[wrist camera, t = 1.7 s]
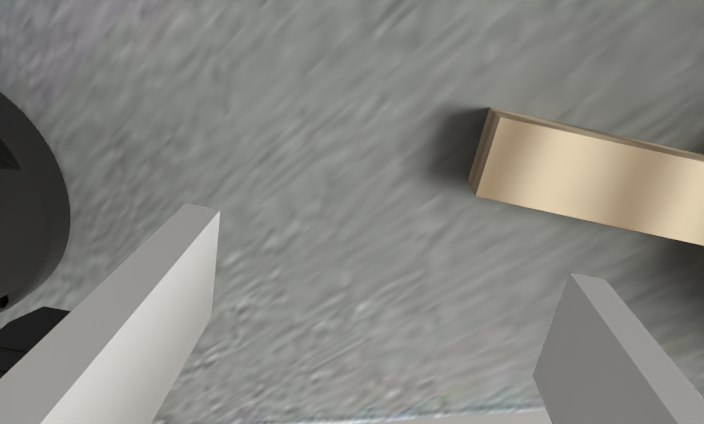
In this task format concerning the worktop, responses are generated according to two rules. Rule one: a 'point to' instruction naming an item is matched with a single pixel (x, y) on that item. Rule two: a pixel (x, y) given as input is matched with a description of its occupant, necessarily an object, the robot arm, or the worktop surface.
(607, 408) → the robot arm
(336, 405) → the worktop surface
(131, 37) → the worktop surface
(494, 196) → the slat
